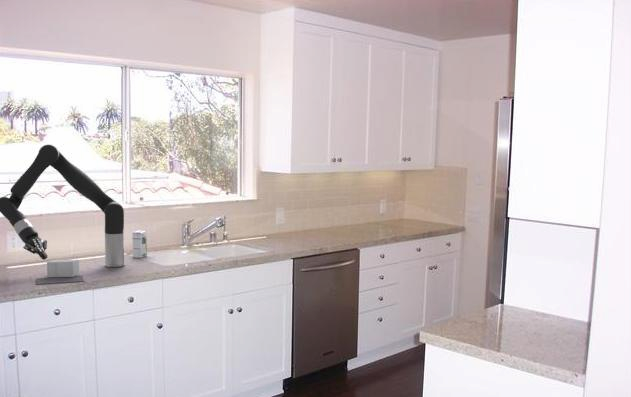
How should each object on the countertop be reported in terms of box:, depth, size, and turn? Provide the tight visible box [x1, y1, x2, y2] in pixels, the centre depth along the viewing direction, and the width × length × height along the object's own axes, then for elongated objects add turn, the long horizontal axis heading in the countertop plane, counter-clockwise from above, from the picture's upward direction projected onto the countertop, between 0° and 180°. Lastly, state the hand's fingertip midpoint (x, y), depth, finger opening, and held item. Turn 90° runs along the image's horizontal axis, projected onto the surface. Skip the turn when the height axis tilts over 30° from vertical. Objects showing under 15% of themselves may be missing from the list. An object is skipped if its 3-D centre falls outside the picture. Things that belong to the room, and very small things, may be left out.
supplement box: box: [46, 259, 80, 277], centre depth 280 cm, size 7×7×13 cm
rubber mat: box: [35, 274, 84, 286], centre depth 273 cm, size 20×12×1 cm, turn 113°
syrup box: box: [131, 230, 148, 259], centre depth 331 cm, size 6×6×14 cm
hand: (45, 258), depth 278 cm, fingers closed
